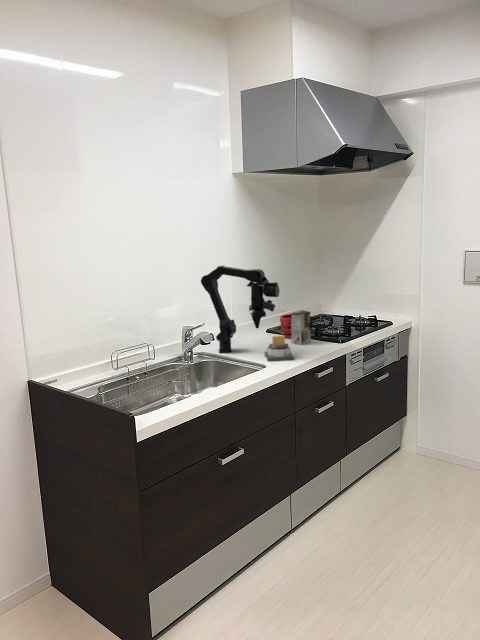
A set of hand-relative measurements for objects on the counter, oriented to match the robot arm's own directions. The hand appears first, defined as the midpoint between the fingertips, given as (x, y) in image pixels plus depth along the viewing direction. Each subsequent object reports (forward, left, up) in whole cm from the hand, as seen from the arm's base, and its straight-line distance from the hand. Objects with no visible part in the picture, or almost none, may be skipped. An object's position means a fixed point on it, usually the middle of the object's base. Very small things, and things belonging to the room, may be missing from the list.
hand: (257, 328), depth 260 cm
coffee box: (-18, +25, -13) cm, 33 cm away
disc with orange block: (+9, +9, -10) cm, 16 cm away
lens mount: (+9, +9, -13) cm, 18 cm away
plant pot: (-32, +23, -13) cm, 41 cm away
